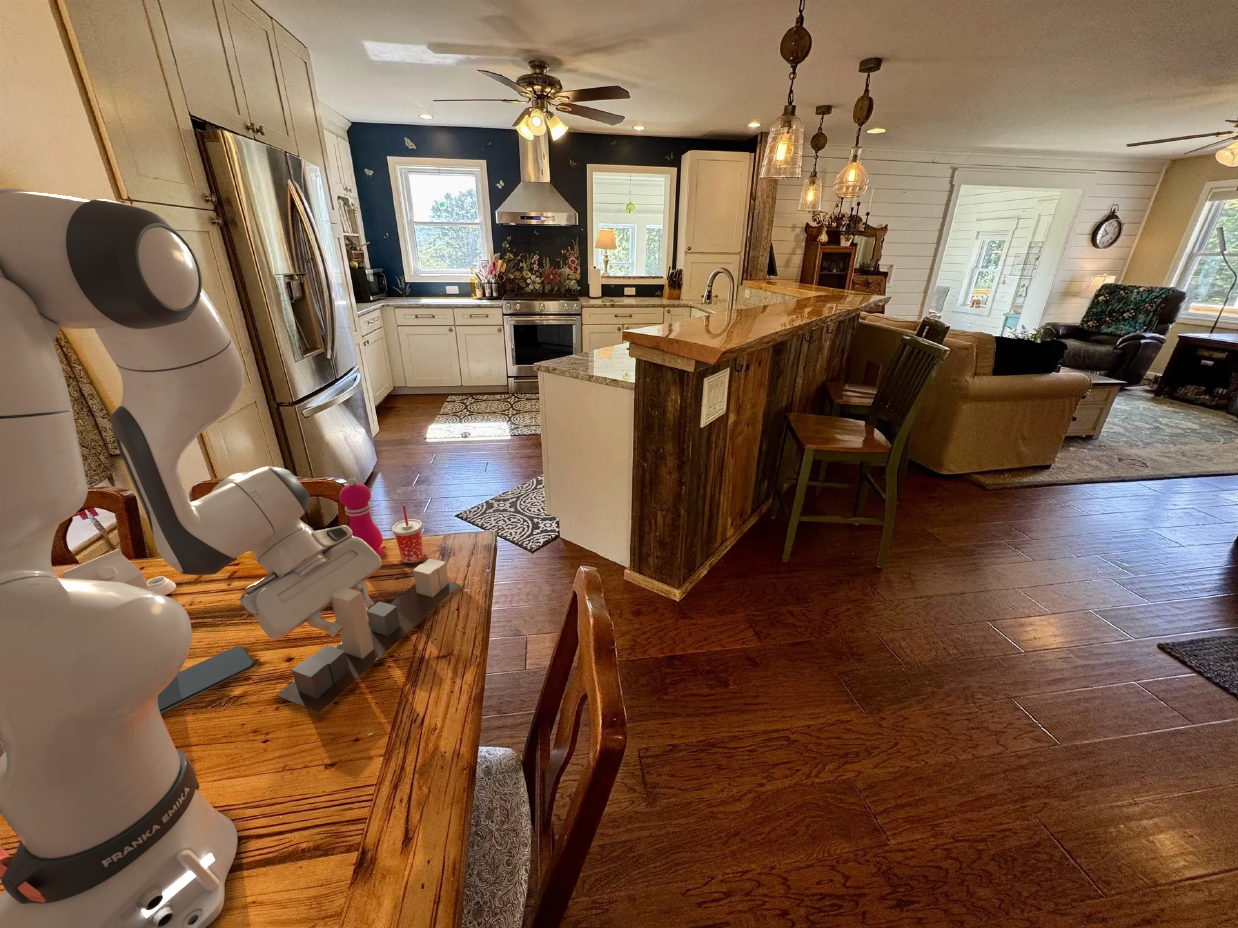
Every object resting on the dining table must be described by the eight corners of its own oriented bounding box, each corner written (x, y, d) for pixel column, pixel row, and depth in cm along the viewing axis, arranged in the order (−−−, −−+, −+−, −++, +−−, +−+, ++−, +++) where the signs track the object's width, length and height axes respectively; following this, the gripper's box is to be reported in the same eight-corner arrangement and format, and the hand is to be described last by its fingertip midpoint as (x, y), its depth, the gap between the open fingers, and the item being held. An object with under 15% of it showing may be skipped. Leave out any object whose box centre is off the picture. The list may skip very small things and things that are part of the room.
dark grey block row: (317, 698, 75) (310, 677, 74) (297, 691, 77) (291, 669, 75) (400, 625, 90) (396, 606, 89) (383, 620, 92) (379, 601, 90)
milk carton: (97, 663, 82) (48, 568, 75) (146, 634, 89) (105, 544, 81) (125, 673, 80) (77, 577, 73) (173, 644, 87) (133, 552, 79)
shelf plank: (320, 717, 73) (319, 712, 73) (277, 699, 76) (275, 695, 76) (460, 588, 102) (460, 584, 102) (425, 579, 105) (425, 575, 105)
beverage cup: (421, 568, 109) (411, 512, 103) (393, 567, 109) (383, 511, 104) (431, 552, 115) (423, 499, 109) (405, 552, 115) (395, 498, 109)
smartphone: (256, 663, 81) (134, 722, 70) (259, 671, 82) (138, 731, 71) (240, 642, 86) (122, 695, 74) (242, 650, 86) (126, 703, 75)
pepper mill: (372, 568, 108) (354, 487, 101) (343, 564, 110) (324, 483, 102) (392, 551, 115) (377, 473, 107) (365, 547, 116) (348, 470, 108)
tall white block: (362, 658, 83) (348, 601, 78) (344, 652, 84) (329, 595, 80) (374, 648, 85) (361, 591, 80) (356, 642, 86) (342, 586, 82)
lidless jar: (137, 597, 98) (155, 602, 97) (132, 585, 97) (149, 590, 96) (165, 583, 103) (182, 588, 101) (160, 571, 101) (177, 576, 100)
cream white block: (432, 597, 98) (429, 574, 96) (416, 592, 99) (412, 570, 97) (448, 583, 102) (445, 560, 100) (433, 578, 104) (429, 556, 102)
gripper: (239, 586, 71) (305, 656, 71) (354, 521, 88) (406, 578, 89) (226, 604, 74) (290, 671, 74) (341, 537, 91) (391, 592, 92)
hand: (354, 620), depth 82 cm, fingers open, 5 cm apart
